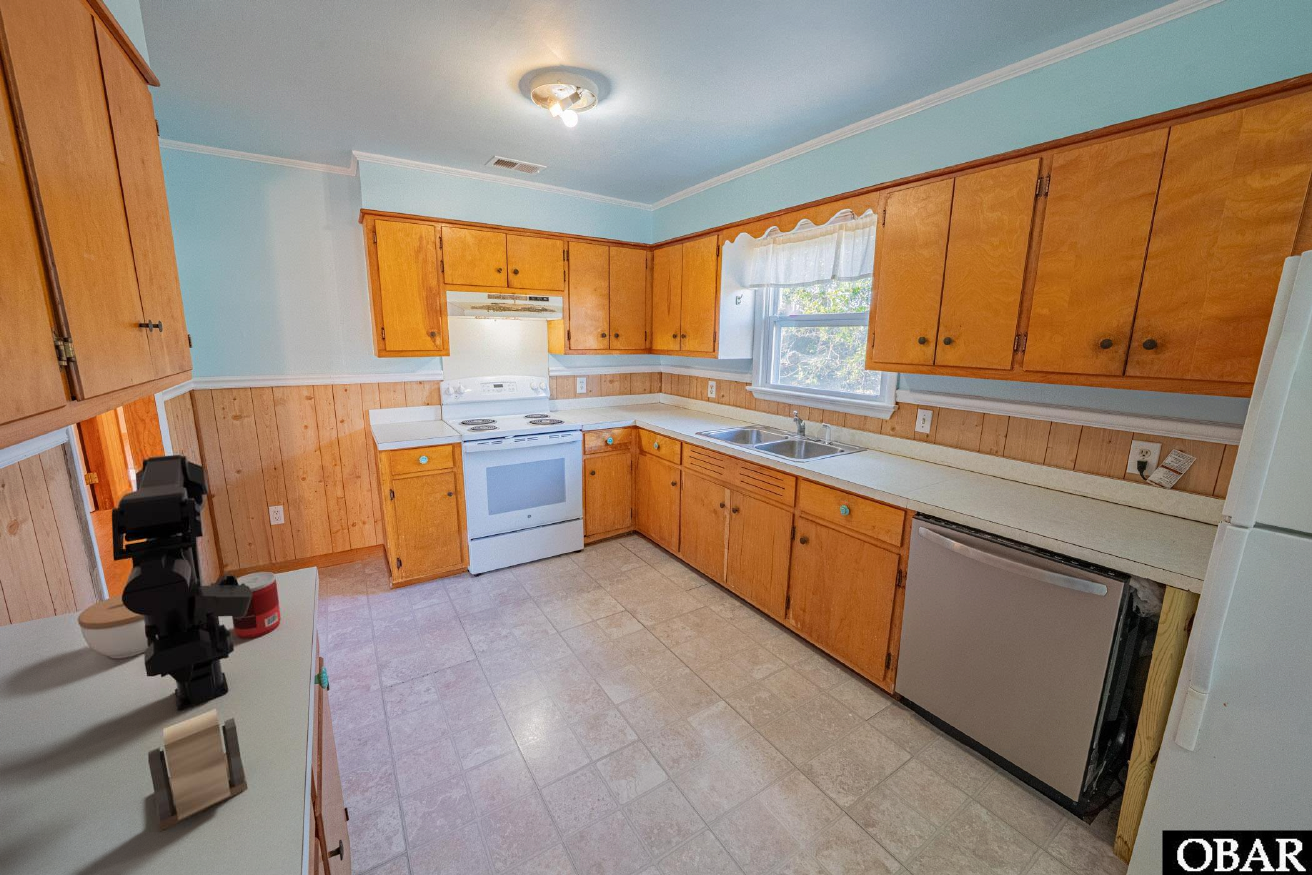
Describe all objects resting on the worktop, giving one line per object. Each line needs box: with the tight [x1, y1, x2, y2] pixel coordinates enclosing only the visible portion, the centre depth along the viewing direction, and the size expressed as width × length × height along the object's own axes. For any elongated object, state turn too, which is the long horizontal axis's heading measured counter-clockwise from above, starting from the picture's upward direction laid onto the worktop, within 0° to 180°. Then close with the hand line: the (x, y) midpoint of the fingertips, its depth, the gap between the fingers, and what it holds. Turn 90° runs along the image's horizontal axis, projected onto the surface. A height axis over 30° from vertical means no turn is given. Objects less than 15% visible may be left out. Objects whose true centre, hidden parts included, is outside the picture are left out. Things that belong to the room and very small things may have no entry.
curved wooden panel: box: [162, 708, 230, 820], centre depth 64 cm, size 4×5×11 cm
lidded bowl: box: [77, 594, 148, 660], centre depth 96 cm, size 13×13×11 cm
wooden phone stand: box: [147, 717, 248, 832], centre depth 67 cm, size 8×9×10 cm
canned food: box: [231, 571, 282, 639], centre depth 103 cm, size 8×8×11 cm
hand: (185, 681), depth 71 cm, fingers closed
